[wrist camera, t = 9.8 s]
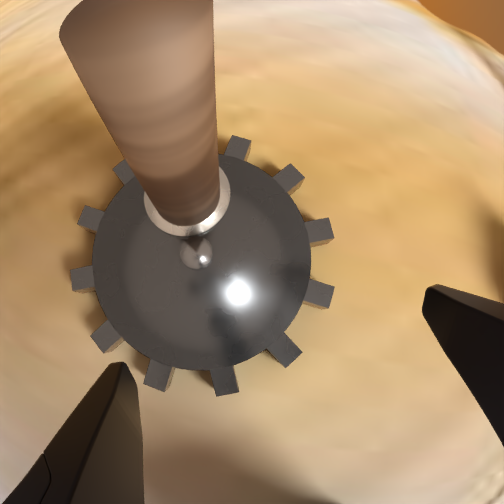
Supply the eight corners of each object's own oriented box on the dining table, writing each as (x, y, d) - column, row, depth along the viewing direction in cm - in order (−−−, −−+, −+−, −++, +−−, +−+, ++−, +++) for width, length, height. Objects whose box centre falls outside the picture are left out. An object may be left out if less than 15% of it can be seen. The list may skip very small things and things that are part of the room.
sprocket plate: (285, 420, 17) (291, 431, 15) (52, 333, 17) (36, 334, 15) (350, 186, 21) (362, 173, 19) (138, 123, 21) (131, 106, 19)
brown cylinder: (221, 224, 18) (210, 38, 5) (152, 228, 18) (38, 70, 5) (219, 162, 19) (214, -34, 6) (155, 166, 18) (85, -13, 6)
